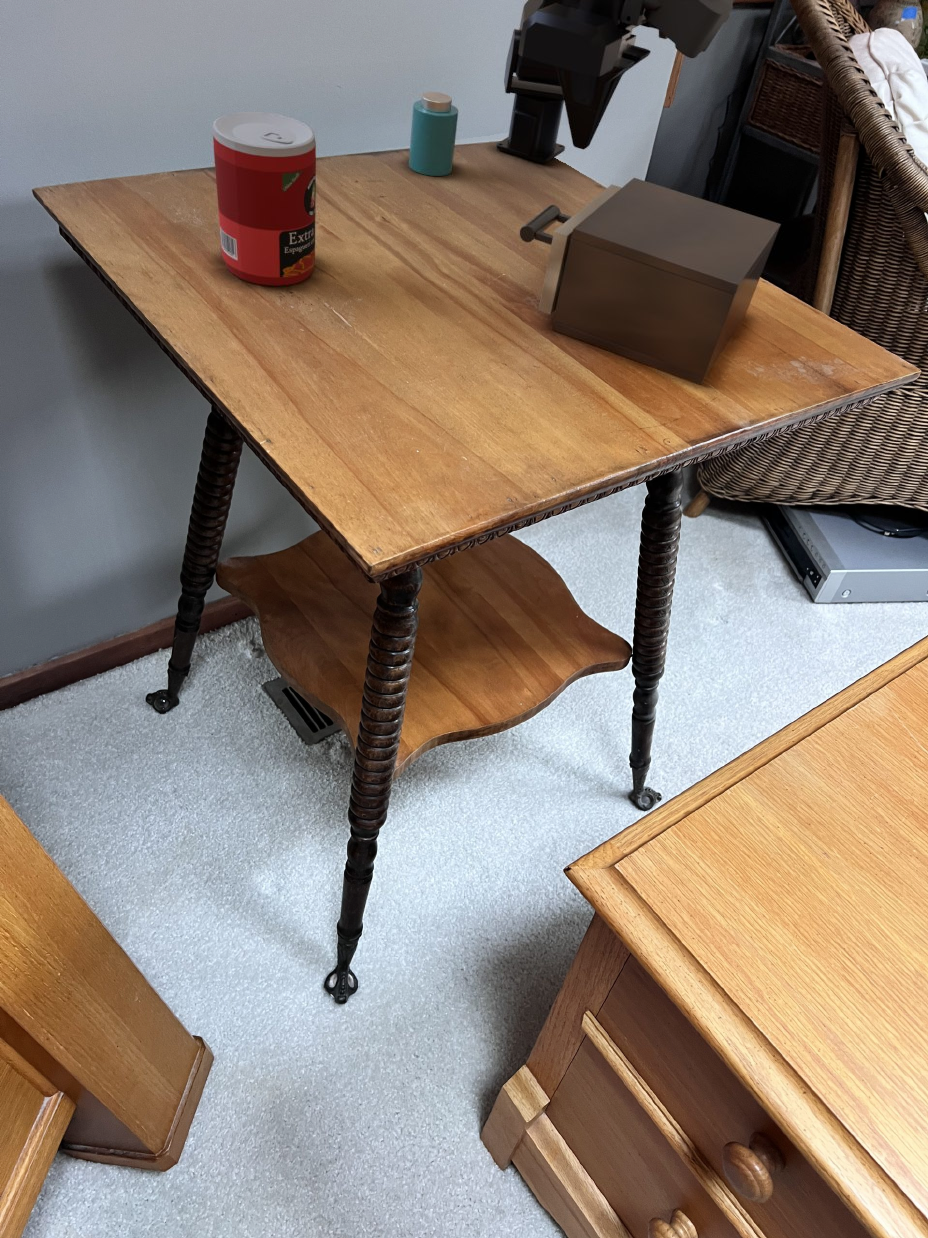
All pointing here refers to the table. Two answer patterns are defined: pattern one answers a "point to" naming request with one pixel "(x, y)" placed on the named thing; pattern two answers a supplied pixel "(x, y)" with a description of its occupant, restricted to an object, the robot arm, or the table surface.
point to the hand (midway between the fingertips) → (580, 146)
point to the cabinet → (662, 277)
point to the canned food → (266, 196)
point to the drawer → (558, 243)
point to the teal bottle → (433, 134)
